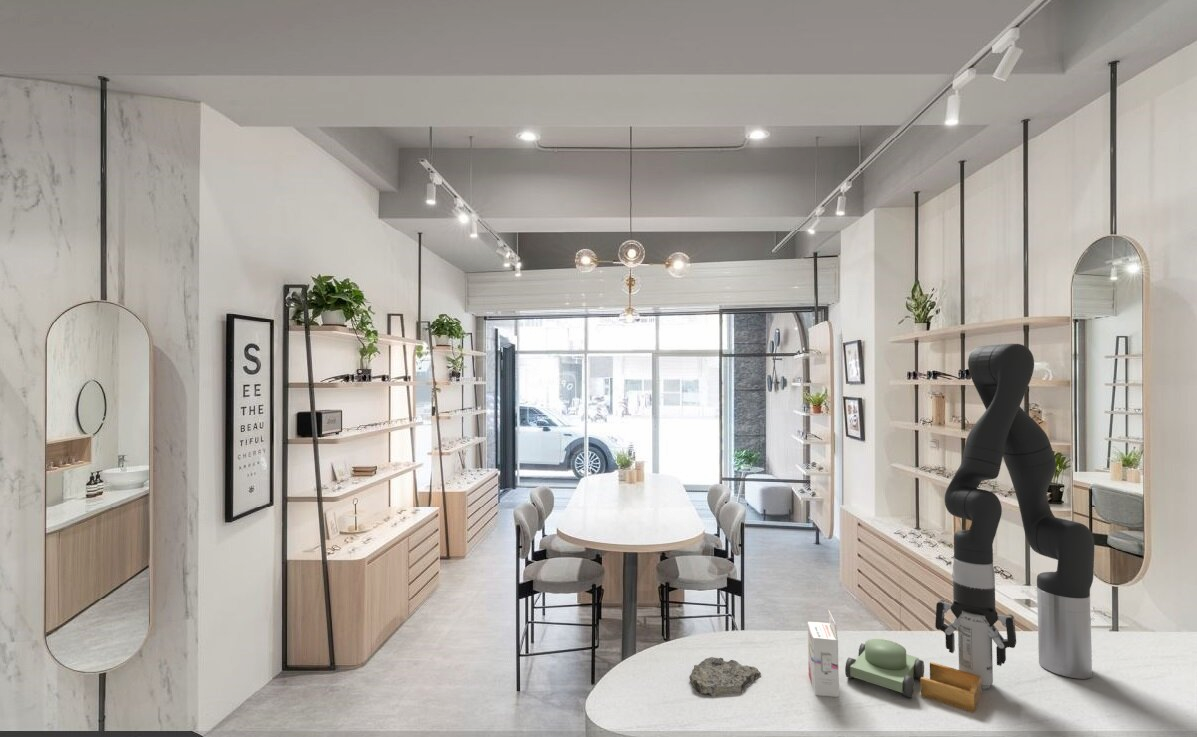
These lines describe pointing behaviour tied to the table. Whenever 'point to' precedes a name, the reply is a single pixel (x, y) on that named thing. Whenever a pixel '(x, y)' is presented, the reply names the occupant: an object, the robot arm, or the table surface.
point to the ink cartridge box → (823, 657)
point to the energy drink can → (975, 648)
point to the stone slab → (721, 676)
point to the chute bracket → (952, 687)
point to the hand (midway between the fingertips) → (975, 657)
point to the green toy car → (886, 666)
